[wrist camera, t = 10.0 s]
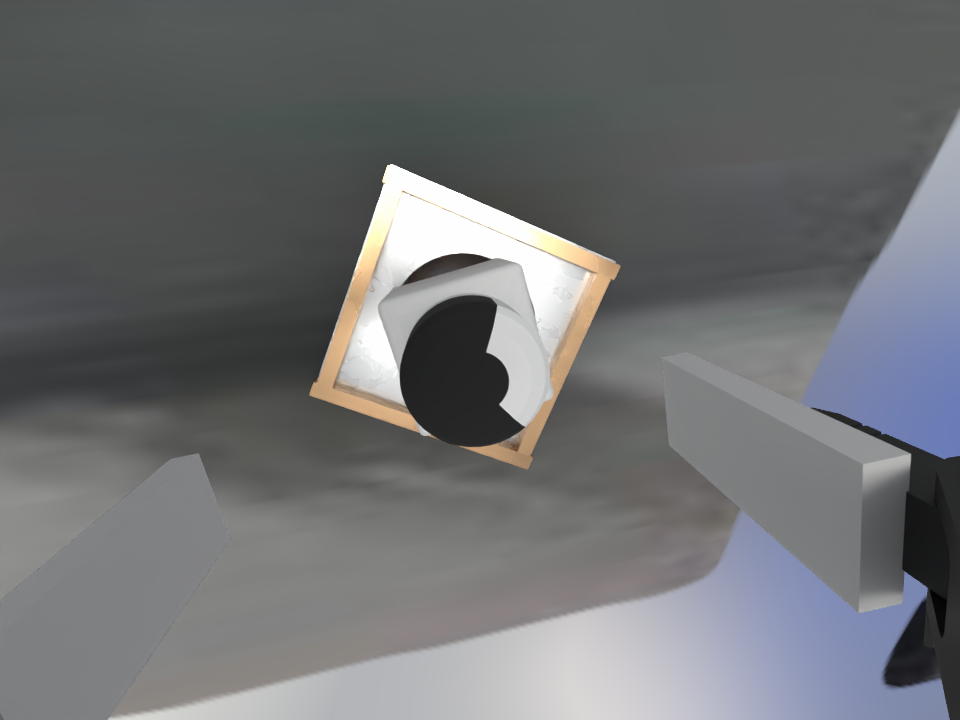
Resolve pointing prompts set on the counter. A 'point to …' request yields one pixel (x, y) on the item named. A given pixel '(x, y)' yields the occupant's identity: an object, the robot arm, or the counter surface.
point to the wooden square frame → (441, 249)
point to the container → (468, 353)
